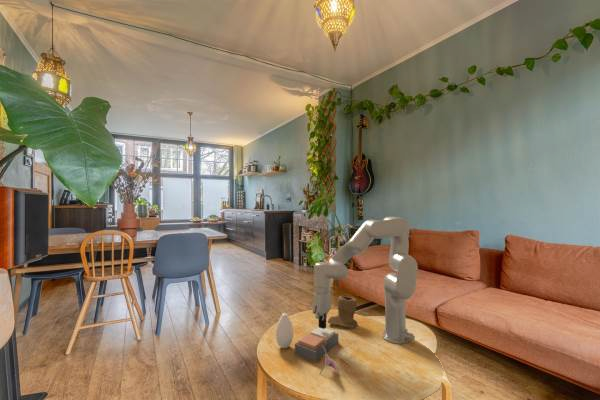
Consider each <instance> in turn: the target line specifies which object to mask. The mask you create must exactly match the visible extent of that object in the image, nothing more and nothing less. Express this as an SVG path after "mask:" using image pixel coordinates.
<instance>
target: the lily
mask: <svg viewBox="0 0 600 400" xmlns="http://www.w3.org/2000/svg"><path fill="white" fill-rule="evenodd" d="M322 347H323V346H322ZM323 348H324V347H323ZM324 350H325V349H324ZM325 353H326V351H325ZM324 356H325V360H324V361H325V362H324V364H323V365H324V366H323V367H322V368H321V370H320V372H319V375H321V374H322V371H323V369H324V368H325V367H326V366H328V367H330V368H333V369H334V370H335V371H336V373H338V375H340V373H339V370H338V369H337V368H338V366H337V364H336V362H334V359H335V358H333V357H332V358H330V357H329V355H328V353H326V354H325V355H324Z"/></svg>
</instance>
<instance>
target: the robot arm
mask: <svg viewBox="0 0 600 400" xmlns="http://www.w3.org/2000/svg"><path fill="white" fill-rule="evenodd" d="M410 228H411V226H410V222H409V221H408V220H407V218H404V217H401V216H398V217H397V216H394V215H393V216H385V217H384V218H383V219H382V220H381V219H377V220H376V219H366V220H365V221H364V222H363V223H362V224H361V225H360V227H358V230H356V231H355V233H354V234H353V235H352V236H351V238H350V239H349V240H348V241H347V242H346V243H345V244H343V245H342V246H341V247H339V249H337V251H335V253H334V254H333V255H332V256H331V258H330V259H329V261H328V262H327V261H318V262H315V264H314V271H313V272H314V284H313V285H314V288H313V289H314V293H313V298H312V309H311V310H312V311H311V312H312V314H313V315H315V317H314V318H315V319H317V320H318V327H319V328H322V329H325V328H327V318H328V314H329V312H330V311H331V309H332V299H331V298H332V297H331V279H333V280H343V279H345V278H346V277H347V276H348V274H349V271H348V270H349V269H348V267H347V266H346V265H345V264H346V263H347V262H348V261H349V260H350V259H351V258H353V257H355V256H358V255H361V254H363V253H364V252H365V251H366V249H367V248H368V247H369V245H370V244H371V243H372V242H373V240H374V239H378V240H379V239H380V240H381V239H390V249H389V256H388V266H389V268H390V269H392V270H393V271H395V272H397V273H395V272H389V273H387V274H386V275H385V276H384V277H383V282H382V284H383V291H384V306H385V307H384V308H385V309H384V310H385V311H384V315H385V316H384V318H385V319H384V321H385V324H384V325H385V328H384V329H385V330H383V332H382V333H381V336H382V338H383V339H384V340H385V341H387V342H389V343H392V344H399V345H400V344H401V345H403V344H406V343H408V342H409V341H410V340H412V341H415V339H416V337H415V335H414V333H412V332H408V328H407V327H406V325H407V323H406V320H407V319H406V300H409V299H411V298H412V297H413V296H414V294H415V291H416V286H417V278H418V271H419V270H418V269H419V268H418V262H417V261H416V259H415V258H414V257H413V256H412V255H409V249H410V248H409V246H410V245H409V244H410V243H409V241H410V240H409V236H408V232H409V231H410Z"/></svg>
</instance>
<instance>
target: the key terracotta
mask: <svg viewBox="0 0 600 400" xmlns="http://www.w3.org/2000/svg"><path fill="white" fill-rule="evenodd" d="M298 342H299V345H302V346H305V347H307V348H310V349H313V350H316V349H317V348H318V347H320V346H321V345H322V344H323V343H324V339H323V338H320V337H317V336H314V335H311V334H310V333H308V334H306V335H305V336H303V337H301V338H299V340H298Z"/></svg>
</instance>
